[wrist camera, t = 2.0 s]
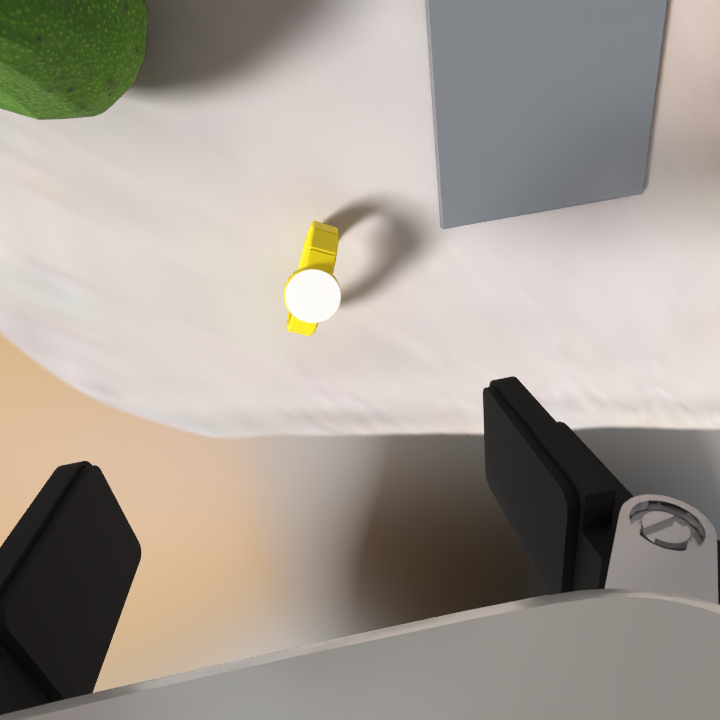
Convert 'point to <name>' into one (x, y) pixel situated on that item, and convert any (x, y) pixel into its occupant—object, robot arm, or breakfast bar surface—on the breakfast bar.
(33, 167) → the breakfast bar surface
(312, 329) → the watch
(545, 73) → the slate coaster
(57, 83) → the avocado
